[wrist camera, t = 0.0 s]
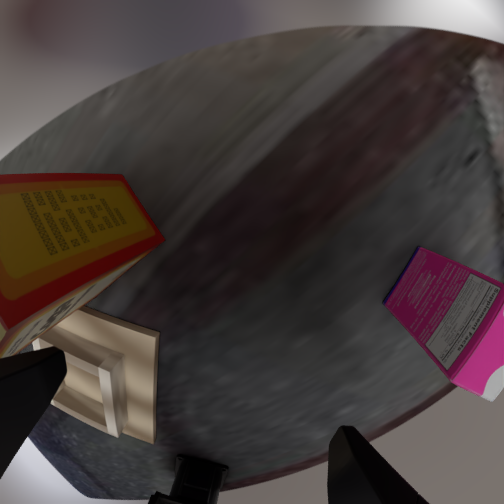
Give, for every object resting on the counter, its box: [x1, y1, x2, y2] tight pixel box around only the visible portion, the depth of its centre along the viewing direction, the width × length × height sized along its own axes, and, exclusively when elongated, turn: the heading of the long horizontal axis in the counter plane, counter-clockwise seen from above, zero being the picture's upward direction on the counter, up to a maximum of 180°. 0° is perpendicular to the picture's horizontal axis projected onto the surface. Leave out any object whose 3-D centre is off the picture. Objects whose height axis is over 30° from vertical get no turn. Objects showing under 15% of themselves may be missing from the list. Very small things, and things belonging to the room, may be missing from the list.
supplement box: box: [383, 246, 504, 402], centre depth 15 cm, size 6×6×12 cm
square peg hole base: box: [32, 306, 160, 444], centre depth 23 cm, size 16×16×4 cm
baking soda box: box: [0, 173, 165, 358], centre depth 14 cm, size 10×6×16 cm
